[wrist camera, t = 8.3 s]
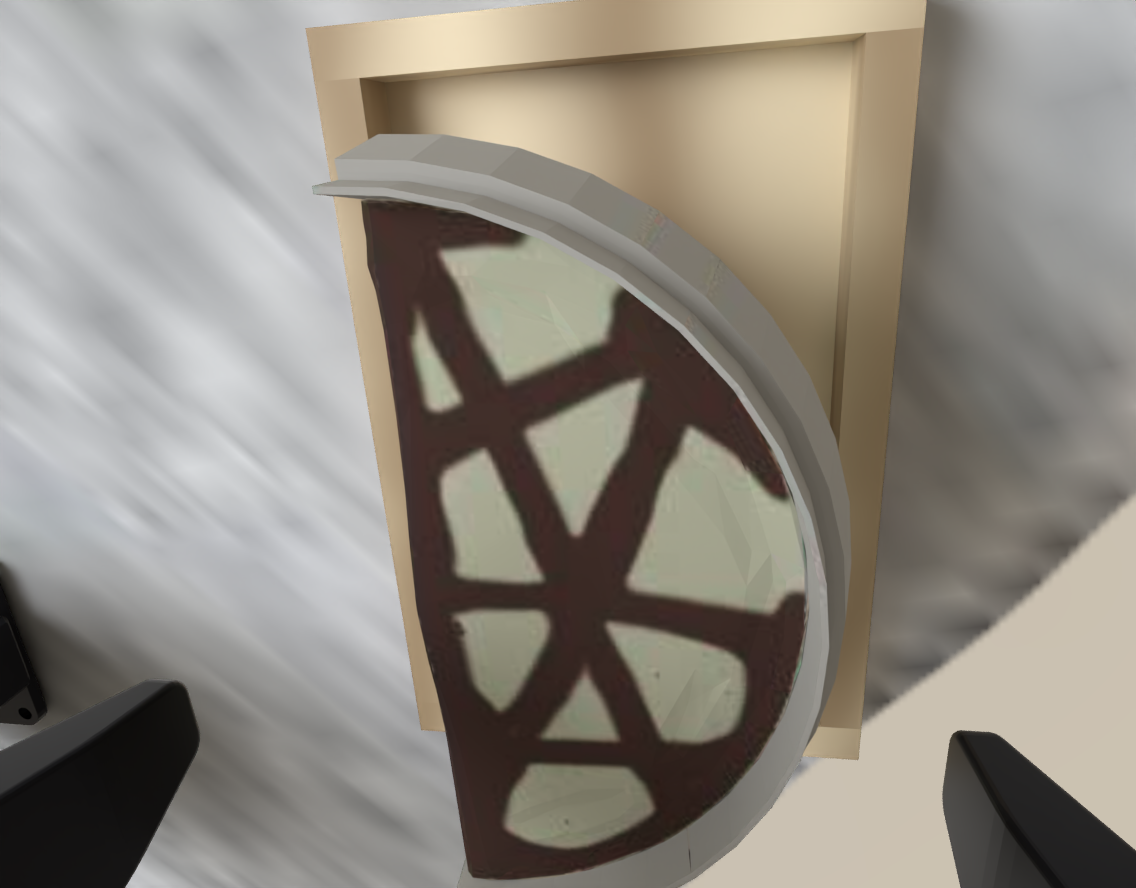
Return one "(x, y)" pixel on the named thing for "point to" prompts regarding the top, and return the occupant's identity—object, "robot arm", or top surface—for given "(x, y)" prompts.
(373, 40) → the wooden tray
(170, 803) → the robot arm
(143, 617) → the top surface
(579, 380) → the food container
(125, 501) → the top surface
